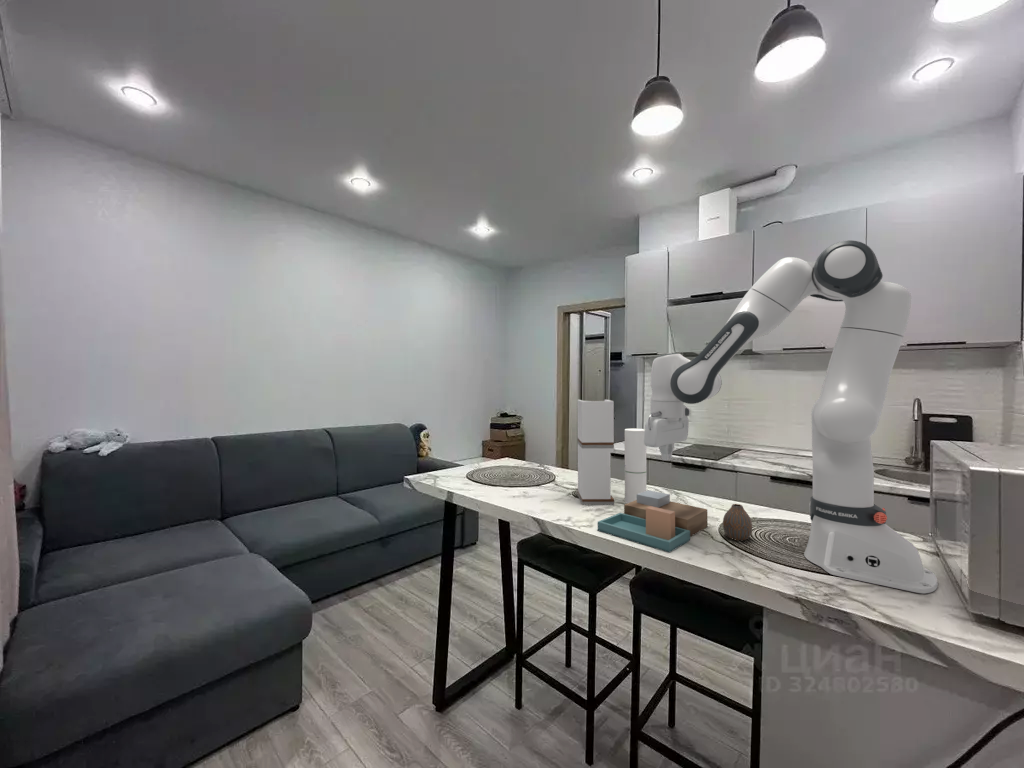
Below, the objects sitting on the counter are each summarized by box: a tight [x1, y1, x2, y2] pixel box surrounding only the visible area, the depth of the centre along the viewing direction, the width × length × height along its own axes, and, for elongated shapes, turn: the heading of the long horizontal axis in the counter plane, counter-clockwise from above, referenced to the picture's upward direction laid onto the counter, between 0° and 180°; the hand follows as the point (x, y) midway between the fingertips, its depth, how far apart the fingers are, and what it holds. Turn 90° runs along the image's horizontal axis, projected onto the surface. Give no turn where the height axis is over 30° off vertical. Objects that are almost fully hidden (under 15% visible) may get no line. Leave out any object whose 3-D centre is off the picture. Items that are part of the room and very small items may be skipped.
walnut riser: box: [623, 500, 708, 538], centre depth 123 cm, size 19×13×5 cm
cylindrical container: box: [624, 427, 647, 504], centre depth 145 cm, size 7×7×25 cm
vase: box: [722, 503, 753, 541], centre depth 112 cm, size 7×7×9 cm
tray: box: [597, 512, 691, 553], centre depth 114 cm, size 21×12×2 cm, turn 43°
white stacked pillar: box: [576, 399, 615, 506], centre depth 147 cm, size 11×11×35 cm
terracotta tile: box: [646, 506, 675, 540], centre depth 112 cm, size 7×7×2 cm
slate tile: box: [637, 489, 671, 508], centre depth 127 cm, size 7×7×2 cm
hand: (666, 459), depth 120 cm, fingers closed
